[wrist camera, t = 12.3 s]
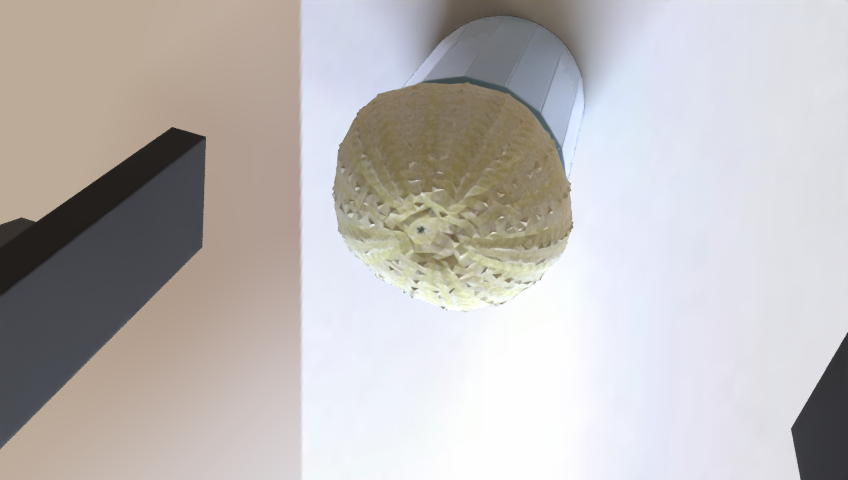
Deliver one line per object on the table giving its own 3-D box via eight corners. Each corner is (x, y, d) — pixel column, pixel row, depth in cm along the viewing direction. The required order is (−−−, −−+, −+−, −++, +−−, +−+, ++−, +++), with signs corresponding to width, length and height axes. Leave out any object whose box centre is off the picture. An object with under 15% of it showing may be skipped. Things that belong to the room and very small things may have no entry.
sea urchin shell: (458, 352, 34) (318, 337, 28) (405, 200, 38) (270, 158, 32) (638, 241, 30) (516, 195, 24) (558, 80, 33) (434, 5, 27)
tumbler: (605, 39, 38) (591, 109, 30) (559, 189, 42) (535, 288, 34) (440, -3, 39) (381, 53, 31) (411, 147, 43) (352, 233, 35)
